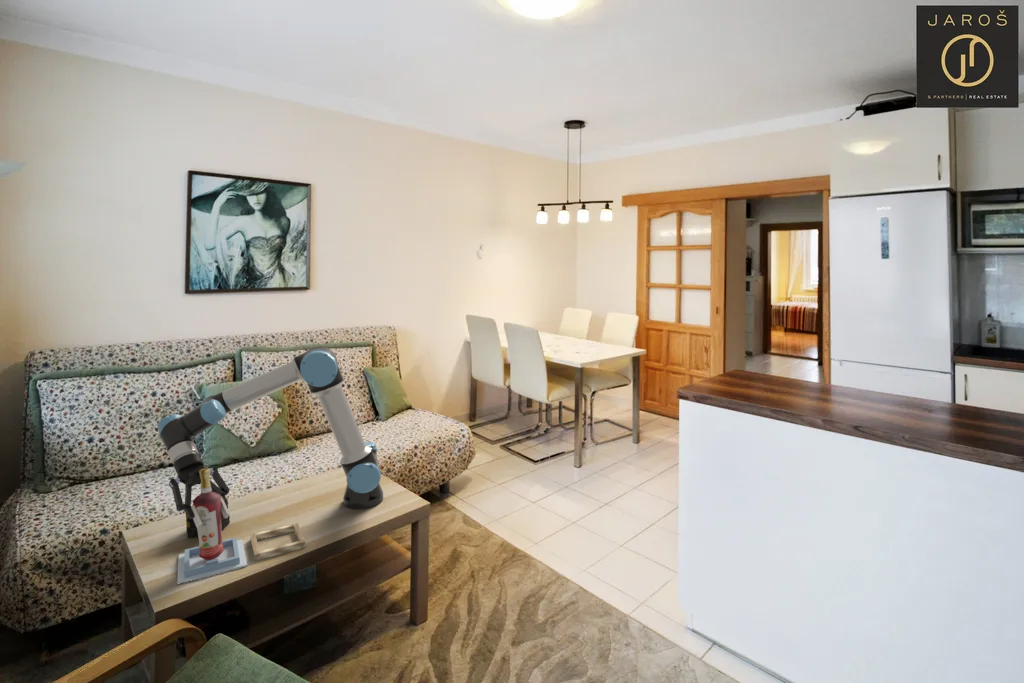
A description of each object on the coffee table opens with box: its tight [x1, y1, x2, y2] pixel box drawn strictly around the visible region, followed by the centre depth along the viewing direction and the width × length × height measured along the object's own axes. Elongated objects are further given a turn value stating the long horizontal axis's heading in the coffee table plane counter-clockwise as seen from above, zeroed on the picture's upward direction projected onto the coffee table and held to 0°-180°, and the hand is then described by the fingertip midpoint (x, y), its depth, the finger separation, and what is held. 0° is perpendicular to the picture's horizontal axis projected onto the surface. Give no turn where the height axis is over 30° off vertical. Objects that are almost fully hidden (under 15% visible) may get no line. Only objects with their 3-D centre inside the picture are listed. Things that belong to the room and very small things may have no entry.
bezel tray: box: [176, 537, 248, 585], centre depth 161 cm, size 18×18×3 cm
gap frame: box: [249, 522, 307, 561], centre depth 171 cm, size 15×15×2 cm
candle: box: [184, 497, 231, 539], centre depth 180 cm, size 10×10×10 cm
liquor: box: [192, 467, 224, 560], centre depth 159 cm, size 7×7×28 cm
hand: (213, 521), depth 157 cm, fingers closed on liquor, 7 cm apart
